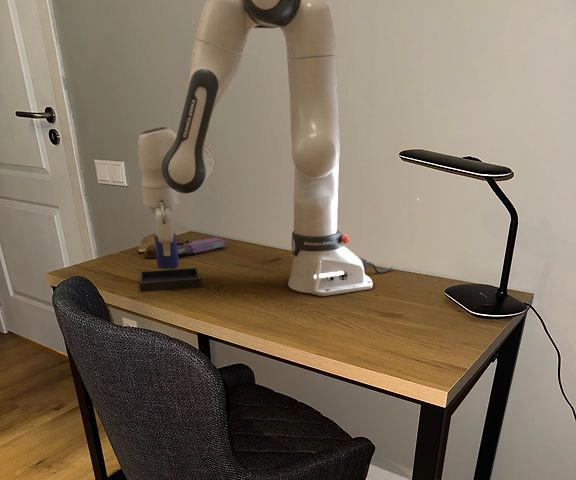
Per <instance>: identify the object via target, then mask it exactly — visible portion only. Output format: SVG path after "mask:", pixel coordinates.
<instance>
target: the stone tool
mask: <svg viewBox="0 0 576 480" xmlns="http://www.w3.org/2000/svg"><path fill="white" fill-rule="evenodd" d="M154 235H155V233H151V234H148V235H147V236H144V237H143V238H142V239H141V241H140V243H141V244H140V245H139V246H138V247H137V250H138V252H140V253H143V257H145V258H147V259H151V258H156V249H155V241H154Z"/></svg>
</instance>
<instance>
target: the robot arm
mask: <svg viewBox="0 0 576 480" xmlns="http://www.w3.org/2000/svg"><path fill="white" fill-rule="evenodd" d="M277 28H279V29H280V30H281V31H282V33H283V36H284V39H285V46H286V60H287V75H288V89H289V90H288V92H289V112H290V113H289V115H290V116H289V117H290V139H291V157H292V162H293V164H294V181H293V185H294V186H293V231H292V232H291V253H292V260H291V261H292V262H291V269H290V274H289V278H288V281H287V287H289V288H290V289H291V290H293V291H296V292H300V293H305V294H312V295H316V296H319V297H327V296H328V297H329V296H333V295H341V294H345V293H352V292H359V291H366V290H371V289H373V287H374V282H373V280H372V279H371V277H370V276H368V275H367V274H365V271H366V270H367V266H370V267H372V268H373V270H374V271H375V273H377V274H384V273H387V272H390V271H393V270H394V269H393V267H392V266H391V267H388V268H385V269H379V268H378V267H377V265H376V264H375V263H373V262H370V261H367V259H365V258H362V257H360V256H357V255H356V254H355V253H354V252H352V251H351V250H350V249H348V247H346V246H345V245H347V244H349V243H350V241H351V239H350V238H351V237H349V236H348V235H347V234H344V233H343V232H340V231H339V230H338V208H339V207H338V206H339V166H340V154H341V149H340V146H341V145H340V143H341V142H340V121H339V118H340V117H339V97H338V96H339V95H338V94H339V93H338V68H337V67H338V66H337V65H338V64H337V45H336V34H335V28H334V23H333V18H332V12H331V10H330V7H329V6H328V5H327V4H326V3H325V2H324V1H322V0H205V3H204V5H203V8H202V11H201V14H200V17H199V21H198V25H197V27H196V32H195V36H194V41H193V46H192V52H191V60H190V70H189V79H188V83H187V84H188V85H187V93H186V97H185V101H184V105H183V109H182V114H181V117H180V121H179V126H178V129H177V133H175V132H174V131H173V130H172V129H170V128H169V127H167V126H165V127H164V126H162V127H156V128H155V127H154V128H151V129H147V130H144V131H143V132H141V133H140V135H138V141H137V142H138V143H137V153H138V165H139V170H140V172H141V177H142V180H141V191H142V199H143V205H144V206H145V207H147V208H149V212H150V213H151V214H153V215H154V220H155V223H156V224H155V225H156V230H157V231H156V233H158V240H159V243H162V247H163V254H164V256H170V255H171V252H170V243H171V242H173V232H174V230H173V222H172V221H173V220H172V214H171V213H174V212H175V211H176V207H177V206H178V205H180V197H179V195H180V194H191V193H194V192H196V191H198V190H199V189H200V187H202V185H203V183H204V182H206V181H207V179H209V178H210V176H212V174H213V172H214V169H215V158H214V155H213V154H212V152H211V150H210V149H209V148H208V146H206V145H205V143H206V140H207V136H208V132H209V129H210V124H211V120H212V118H213V114H214V111H215V109H216V107H217V105H218V103H219V102H220V100H222V98H223V96H225V94H226V93H228V91H229V90H231V88H232V86H233V85H234V83H235V80H236V77H237V76H238V73H239V71H240V67H241V65H242V60H243V58H244V57H243V56H244V52H245V48H246V44H247V40H248V37H249V35H250V32H251V31H252V30H253V29H277ZM179 193H180V194H179ZM344 244H345V245H344Z"/></svg>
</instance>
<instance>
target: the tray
mask: <svg viewBox="0 0 576 480" xmlns="http://www.w3.org/2000/svg"><path fill="white" fill-rule="evenodd" d="M193 288H194V289H195V288H202V281H201V276H200V272H199V269H198V267H186V268H175V269H171V270H162V269H157V270H143V271H139V289H140V292H154V291H165V290H181V289H193Z"/></svg>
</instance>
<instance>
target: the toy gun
mask: <svg viewBox="0 0 576 480" xmlns="http://www.w3.org/2000/svg"><path fill="white" fill-rule="evenodd" d="M176 242H177V241H176ZM223 248H226V241H225V240H224V239H223V238H221V237H218V236H212V237H209V238H204V239H202V238H201V239H196V240H191V241H190V242H189V240H185V241H184V242H181V241H180V242H179V241H178V242H177V252H178V256H179V255H183V254H184V255H192V254H197V253H202V252H207V251H212V250H216V249H217V250H218V249H223Z"/></svg>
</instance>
